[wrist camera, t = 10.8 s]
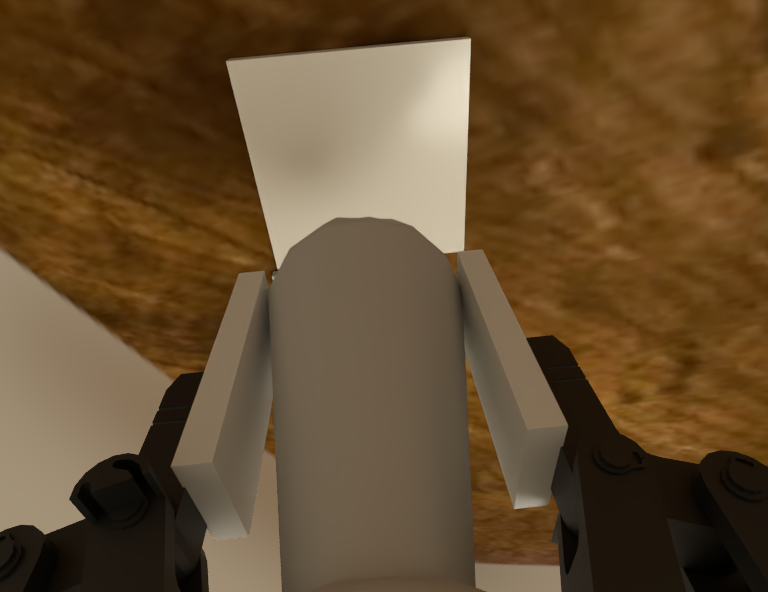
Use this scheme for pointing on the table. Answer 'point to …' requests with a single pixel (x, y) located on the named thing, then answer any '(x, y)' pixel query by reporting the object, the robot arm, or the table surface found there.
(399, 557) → the salt shaker
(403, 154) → the plate
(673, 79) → the table surface
